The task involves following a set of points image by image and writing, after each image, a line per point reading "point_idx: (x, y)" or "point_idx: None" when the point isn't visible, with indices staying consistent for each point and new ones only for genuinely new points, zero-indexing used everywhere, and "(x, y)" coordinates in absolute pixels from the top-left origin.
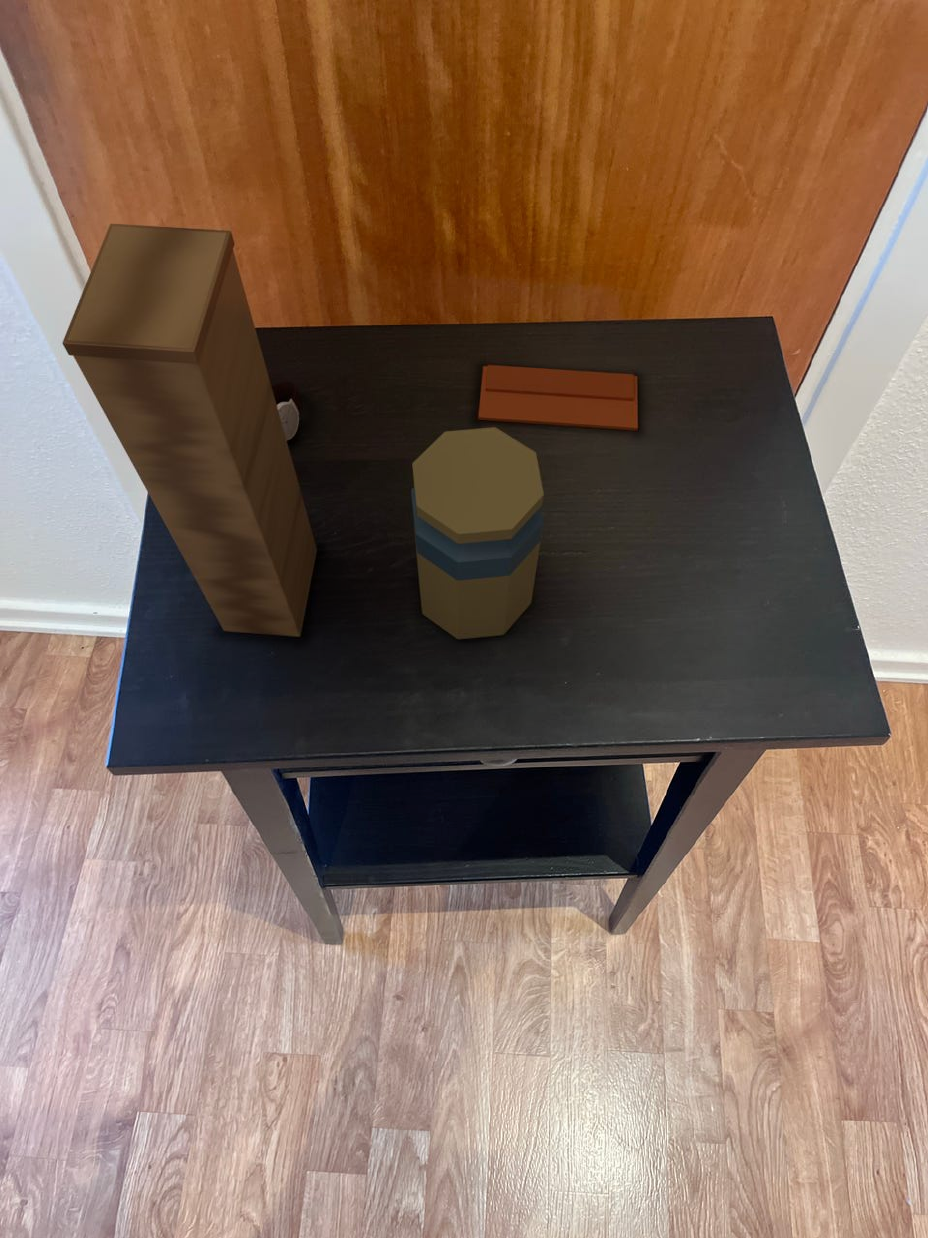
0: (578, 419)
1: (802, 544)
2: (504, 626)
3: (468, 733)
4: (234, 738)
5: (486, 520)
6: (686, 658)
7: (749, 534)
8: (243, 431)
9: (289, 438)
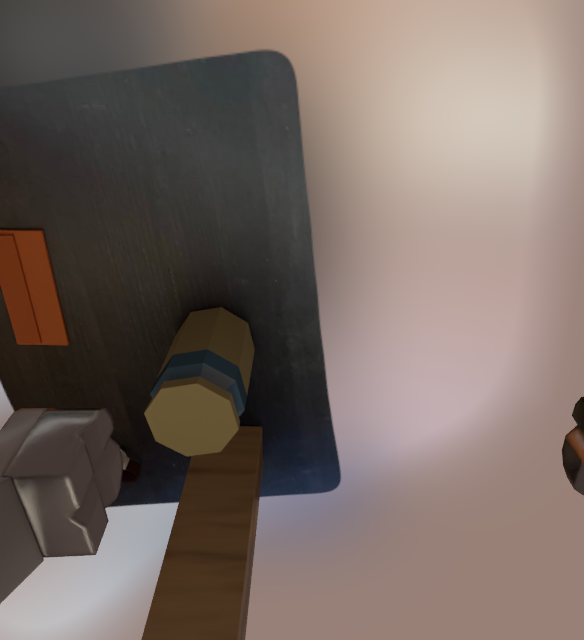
0: (48, 276)
1: (124, 92)
2: (246, 328)
3: (316, 335)
4: (327, 447)
5: (225, 415)
6: (247, 198)
7: (124, 140)
8: (220, 579)
9: (121, 450)
